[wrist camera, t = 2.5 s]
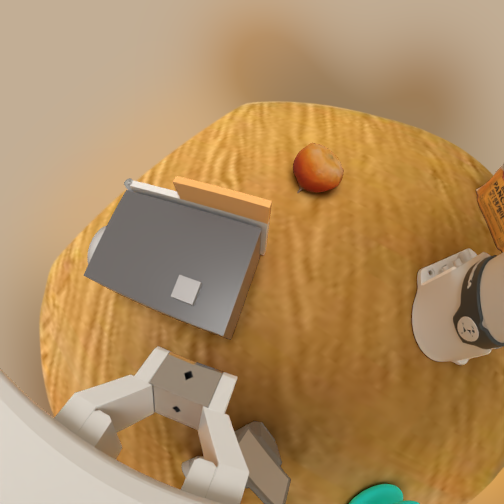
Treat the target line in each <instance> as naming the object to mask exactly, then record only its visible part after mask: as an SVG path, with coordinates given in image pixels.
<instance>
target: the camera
mask: <svg viewBox="0 0 504 504" xmlns="http://www.w3.org/2000/svg"><path fill="white" fill-rule="evenodd" d="M234 432H235V435H236V438H237V440H238V443H239V446H240V449H241V452H242V454H243V457H244V460H245V462H246V465H247V467H248V470H249V475H248V479H247V482H246V486H245V488H250V489H251V490H252V491H253V492H254V493H255V494H256V495H257V496H258V497H259V498H260V500H261V501H262V502H263V503H264V504H285V503H286V499H287V495H288V490H289V486H290V481H291V479H290V478H289V477H288V475H287V474H286V473H285V472H284V471H283V469H282V468H281V464H282V461H281V458H280V454H279V450H278V447H277V444H276V443H275V439H274V438H273V436H272V435H271V434H270V432H269V431H268V430H267V428H266V427H265V426H264V424H263V423H262V422H257V421H253V422H251V423H249V424H248V425H245V426H244V427H242V428H240V429H238V430H236V431H234ZM198 458H201V459H204V456H197V457H194V458H192V459H190V460H187V461H185V462H183V463H182V471H183V473H184V475H185V477H187V475H188V473H189V471H190V469H191V466H192V464H193V462H194V460H196V459H198Z"/></svg>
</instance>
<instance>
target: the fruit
mask: <svg viewBox="0 0 504 504" xmlns="http://www.w3.org/2000/svg"><path fill="white" fill-rule="evenodd" d="M293 172H294V175H295V176H296V179H297V182H298V184H299V188H300V189H299V191H298V193H299V192H300V191H301V190H302V189H305V190H306V191H309V192H324V191H327V190H330V189H333V188H335V187H336V186H338V185H339V183H340V181H341V180H342V177H343V172H344V170H343V168H342V167H341V163H340V161H339V159H338V157H337V156H336V155H335V154H334V153H333V152H332V151H331V150H329V149H328V148H326V147H324V146H322V145H320V144H315V143H311V144H309V145H308V146H306V147H305V148H303V149H302V150H301V151H300V152H299V153H298V155H297V156H296V158H295V160H294V164H293Z"/></svg>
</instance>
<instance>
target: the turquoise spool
mask: <svg viewBox="0 0 504 504" xmlns="http://www.w3.org/2000/svg"><path fill="white" fill-rule="evenodd" d="M349 504H419V503H418V502H415V501H403V494H402V491H401V490H400V489H399V488H398V487H397V486H395V485H391V484H380V485H376V486H373V487H370V488H368V489H366V490H364V491H362V492H361V493H359V494H358V495H357V496H356V497H354V498H353V499H352V500H351V502H350V503H349Z"/></svg>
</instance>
